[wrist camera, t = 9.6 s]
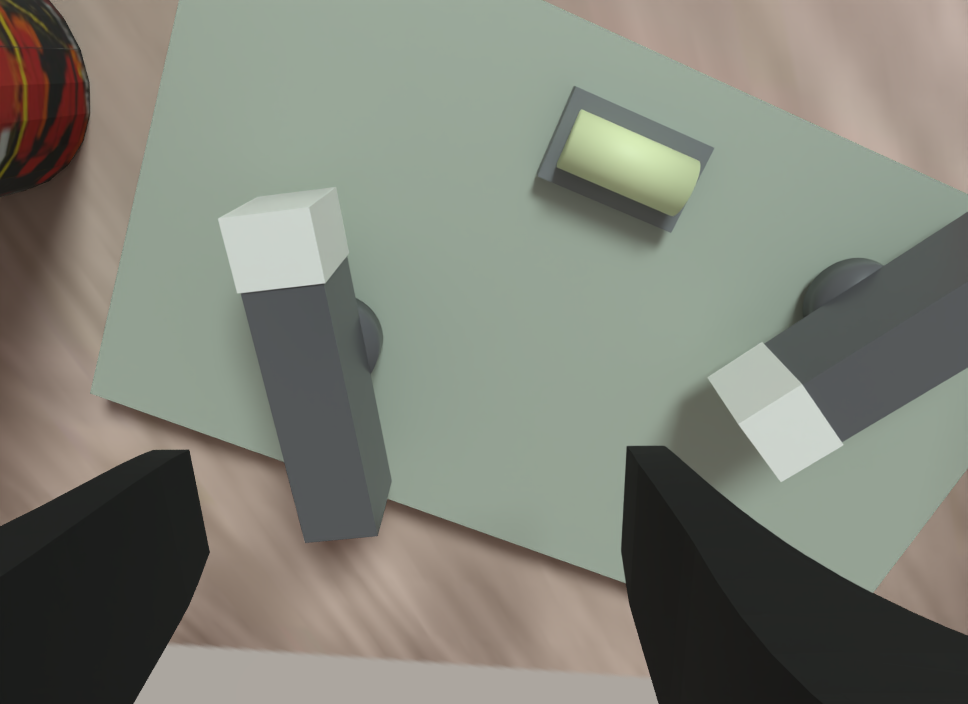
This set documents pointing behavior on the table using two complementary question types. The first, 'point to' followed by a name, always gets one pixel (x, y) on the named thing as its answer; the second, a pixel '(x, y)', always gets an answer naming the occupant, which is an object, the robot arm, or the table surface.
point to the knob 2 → (854, 351)
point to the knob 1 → (313, 357)
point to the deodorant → (38, 94)
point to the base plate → (524, 264)
